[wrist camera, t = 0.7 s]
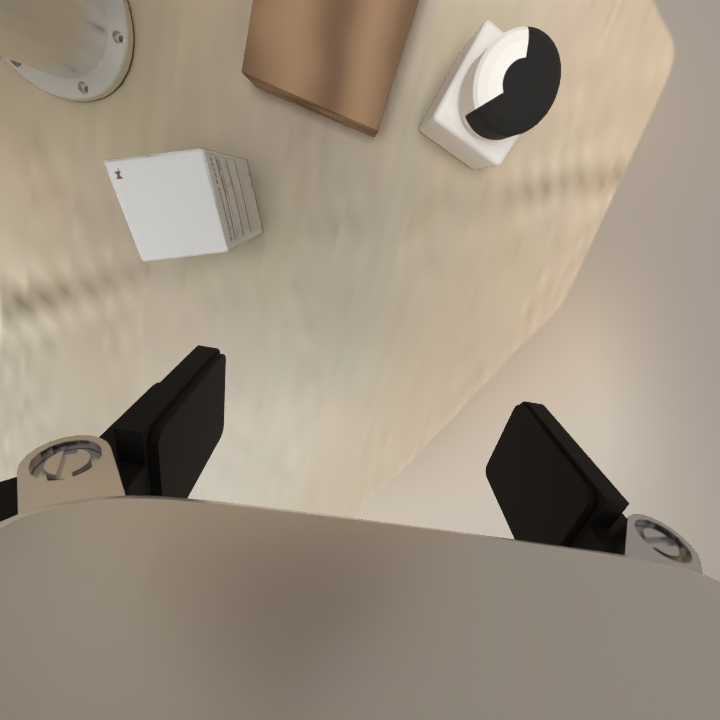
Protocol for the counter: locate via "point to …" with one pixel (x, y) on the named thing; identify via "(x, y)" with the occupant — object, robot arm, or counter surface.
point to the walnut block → (329, 54)
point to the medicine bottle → (494, 94)
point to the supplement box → (185, 202)
